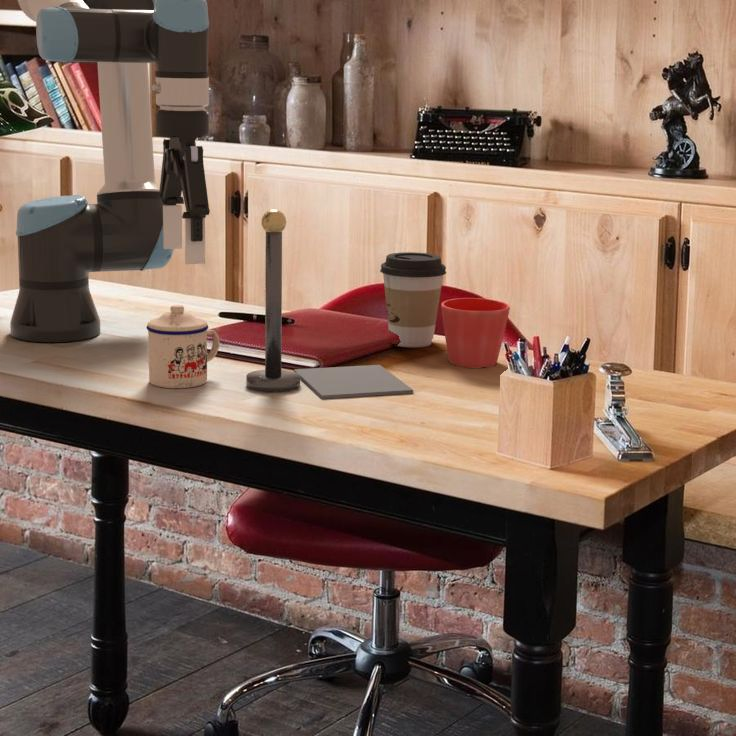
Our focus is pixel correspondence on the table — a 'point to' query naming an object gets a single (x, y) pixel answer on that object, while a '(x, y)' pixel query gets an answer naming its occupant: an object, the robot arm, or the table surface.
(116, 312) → the table surface
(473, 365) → the flower pot
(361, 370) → the mat
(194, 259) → the robot arm
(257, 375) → the post
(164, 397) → the table surface
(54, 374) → the table surface
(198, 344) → the teacup with lid
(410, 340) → the coffee cup
